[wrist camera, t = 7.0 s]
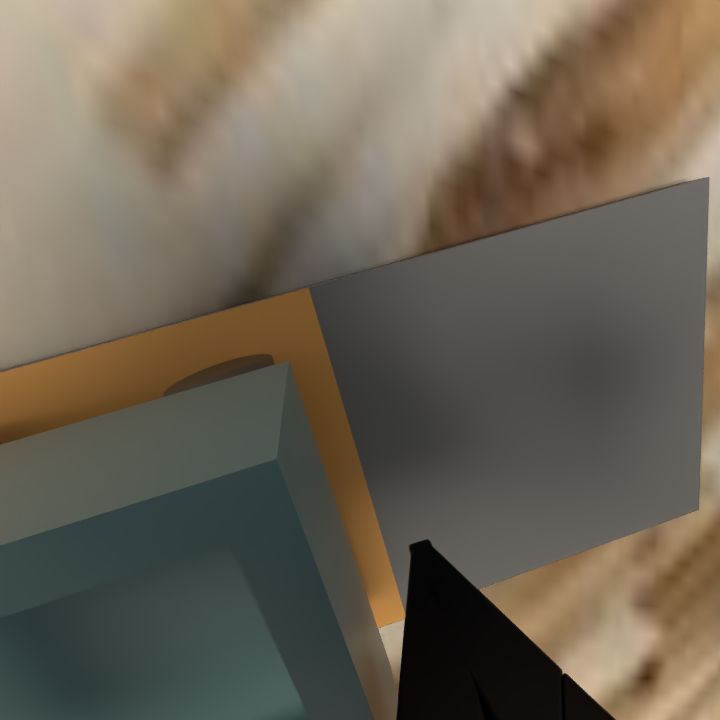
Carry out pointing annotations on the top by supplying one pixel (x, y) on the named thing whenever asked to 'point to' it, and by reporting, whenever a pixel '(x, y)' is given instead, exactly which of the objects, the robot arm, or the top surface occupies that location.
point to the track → (463, 387)
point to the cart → (184, 564)
